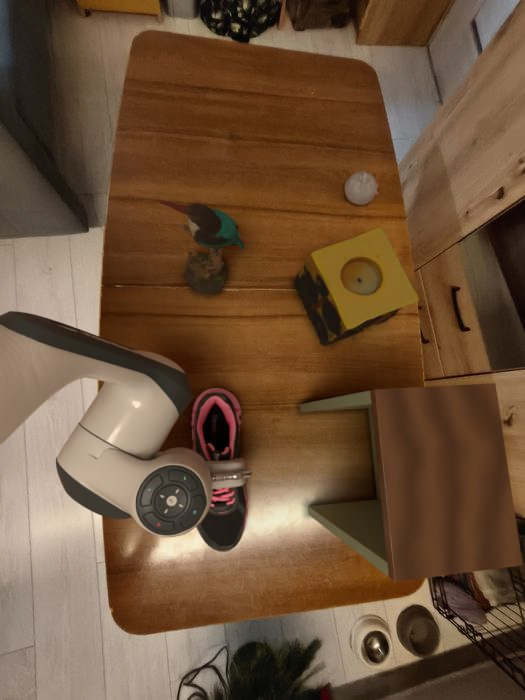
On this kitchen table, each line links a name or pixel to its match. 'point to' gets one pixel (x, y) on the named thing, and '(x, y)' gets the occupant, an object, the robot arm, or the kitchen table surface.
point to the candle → (353, 286)
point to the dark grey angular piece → (360, 516)
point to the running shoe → (219, 445)
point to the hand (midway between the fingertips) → (181, 470)
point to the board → (443, 481)
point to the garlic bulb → (360, 188)
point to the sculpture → (207, 245)
